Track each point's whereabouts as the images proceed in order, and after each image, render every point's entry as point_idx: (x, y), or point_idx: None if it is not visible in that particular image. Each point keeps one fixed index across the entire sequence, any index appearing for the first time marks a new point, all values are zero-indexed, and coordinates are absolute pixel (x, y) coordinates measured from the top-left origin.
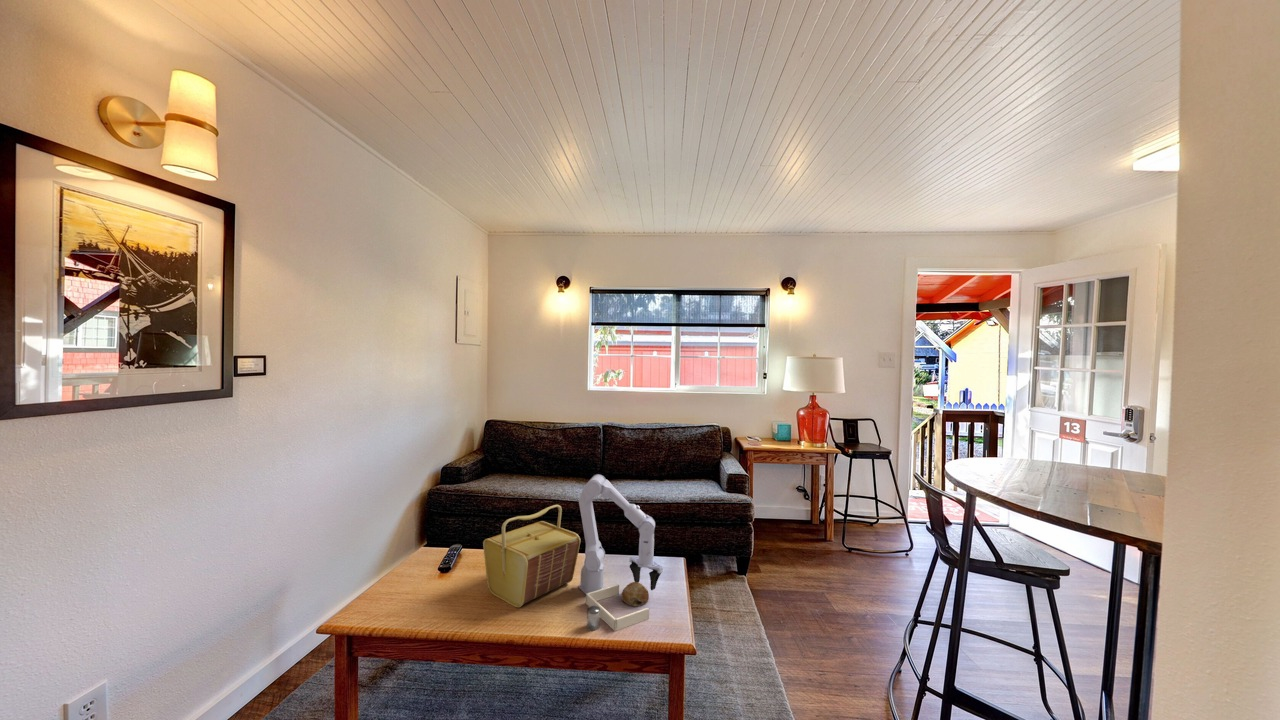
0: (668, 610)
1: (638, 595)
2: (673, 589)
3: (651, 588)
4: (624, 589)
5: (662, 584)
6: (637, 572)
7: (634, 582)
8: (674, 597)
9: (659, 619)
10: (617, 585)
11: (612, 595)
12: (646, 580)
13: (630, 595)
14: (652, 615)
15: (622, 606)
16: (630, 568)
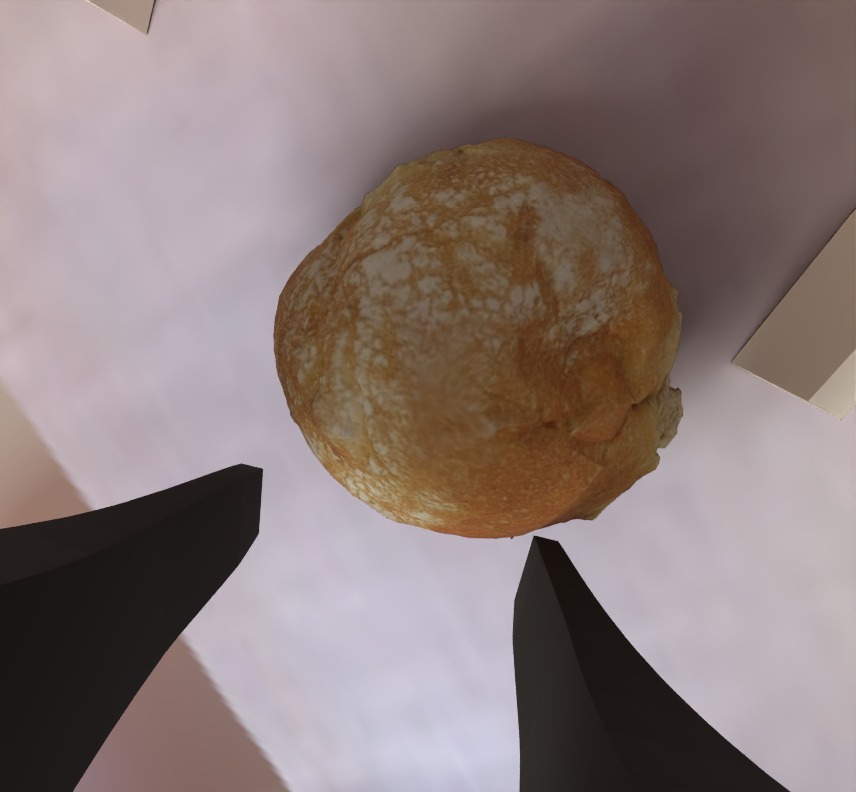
0: (75, 323)
1: (334, 231)
2: (245, 674)
3: (231, 471)
4: (639, 258)
5: (367, 717)
6: (545, 721)
7: (501, 445)
8: None
9: (33, 92)
10: (838, 370)
11: (814, 266)
12: None
13: (457, 159)
14: (134, 125)
15: (552, 90)
16: (767, 778)
